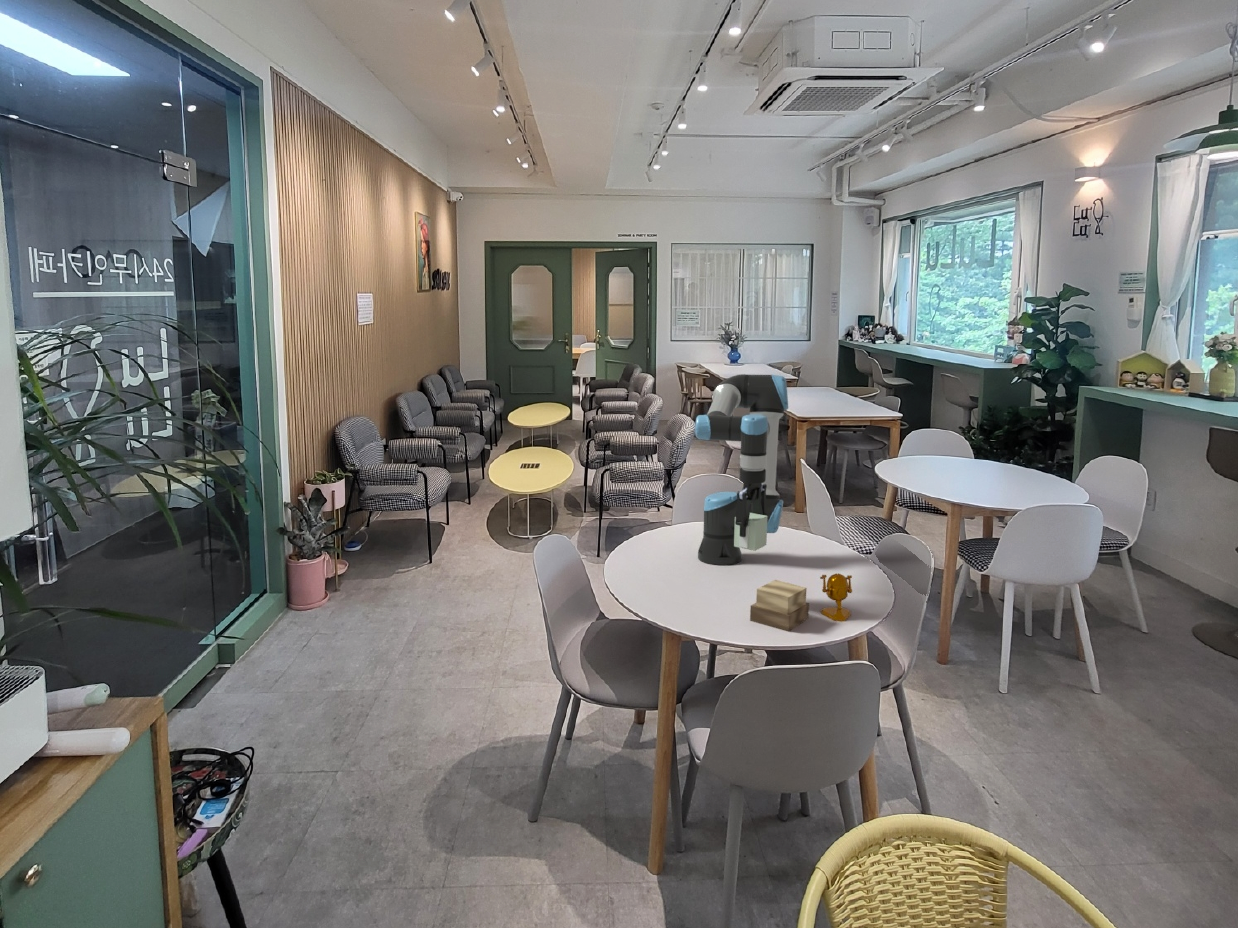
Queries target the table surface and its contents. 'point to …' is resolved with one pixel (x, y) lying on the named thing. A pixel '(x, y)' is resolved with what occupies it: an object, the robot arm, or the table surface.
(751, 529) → the sage block
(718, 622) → the table surface
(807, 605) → the walnut slab
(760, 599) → the oak slab
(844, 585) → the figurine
